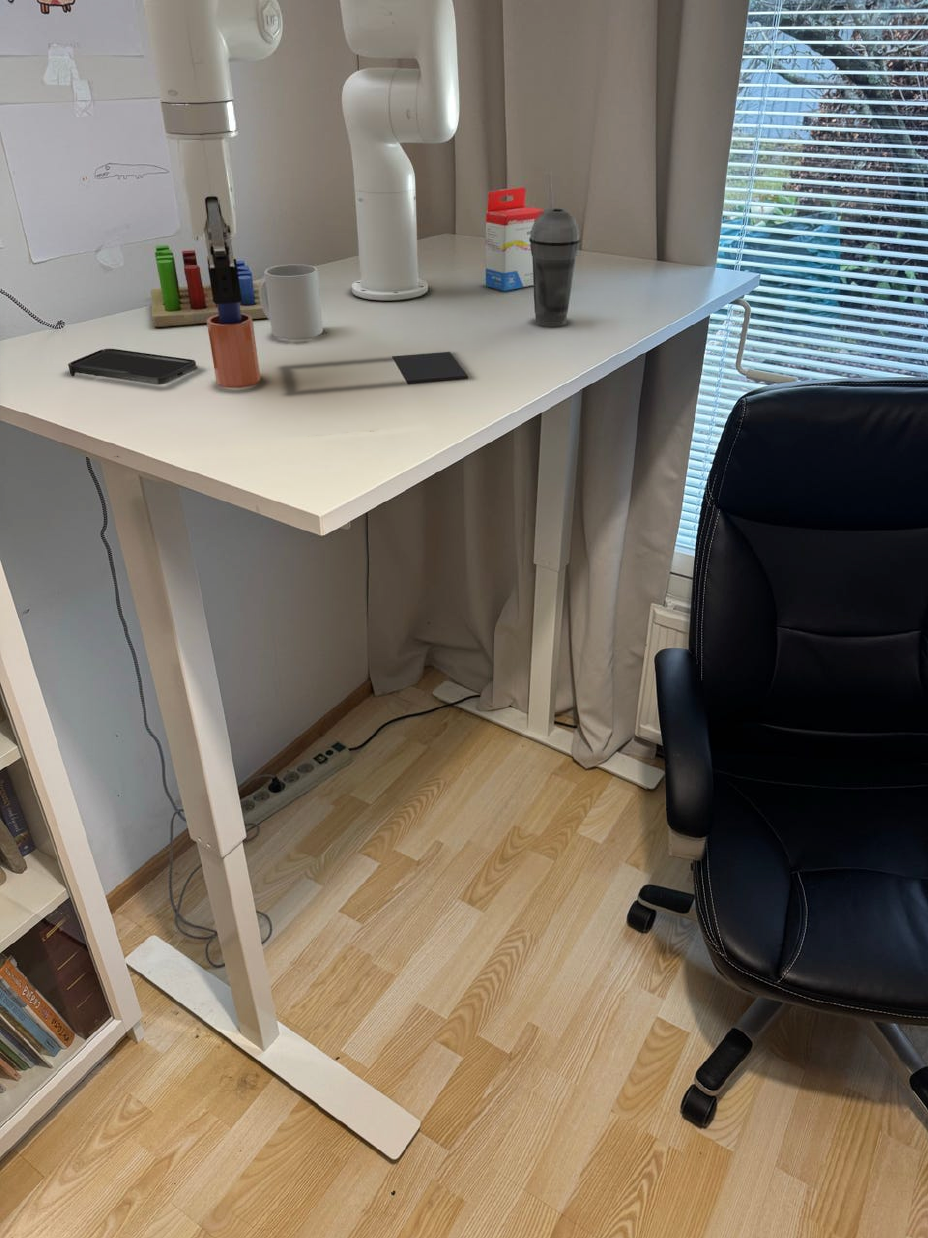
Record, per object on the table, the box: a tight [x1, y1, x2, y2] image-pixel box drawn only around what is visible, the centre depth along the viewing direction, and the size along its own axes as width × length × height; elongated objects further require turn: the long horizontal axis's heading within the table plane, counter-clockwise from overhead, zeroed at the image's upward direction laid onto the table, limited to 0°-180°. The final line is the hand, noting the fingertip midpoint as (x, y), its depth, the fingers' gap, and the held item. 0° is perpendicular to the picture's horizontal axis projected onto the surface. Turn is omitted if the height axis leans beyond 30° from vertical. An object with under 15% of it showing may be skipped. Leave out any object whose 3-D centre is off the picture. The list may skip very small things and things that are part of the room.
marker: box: [213, 256, 242, 324], centre depth 106 cm, size 3×3×14 cm
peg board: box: [150, 244, 268, 328], centre depth 137 cm, size 18×17×9 cm
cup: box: [259, 263, 324, 340], centre depth 126 cm, size 7×10×9 cm
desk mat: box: [391, 351, 469, 385], centre depth 114 cm, size 10×22×1 cm, turn 104°
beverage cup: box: [529, 172, 581, 328], centre depth 127 cm, size 7×7×20 cm
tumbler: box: [206, 313, 261, 389], centre depth 108 cm, size 5×5×8 cm
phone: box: [67, 348, 197, 385], centre depth 114 cm, size 8×1×15 cm
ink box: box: [485, 186, 544, 292], centre depth 147 cm, size 8×5×15 cm, turn 129°
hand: (227, 297), depth 105 cm, fingers closed on marker, 2 cm apart
